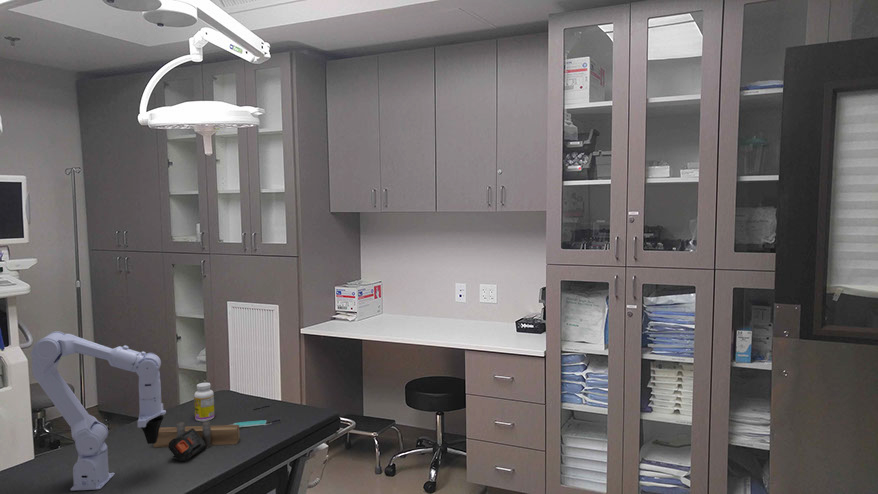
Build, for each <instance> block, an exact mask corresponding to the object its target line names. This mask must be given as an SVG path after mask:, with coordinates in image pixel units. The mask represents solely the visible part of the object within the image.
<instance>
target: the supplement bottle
mask: <svg viewBox="0 0 878 494" xmlns="http://www.w3.org/2000/svg"><path fill="white" fill-rule="evenodd" d="M211 387H212V384H211V383H210V382H200V383H198V384H196V389H197V390H196V391H195V392H194V394H193V397H194V398H193V399H194V400H193V401H194V419H195V421H197V422H199V423H200V422H202V423H203V422H206V421H211V420H213V419H214V418H215V396H214V395H215V394H214V391H213V390H212V389H211Z"/></svg>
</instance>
